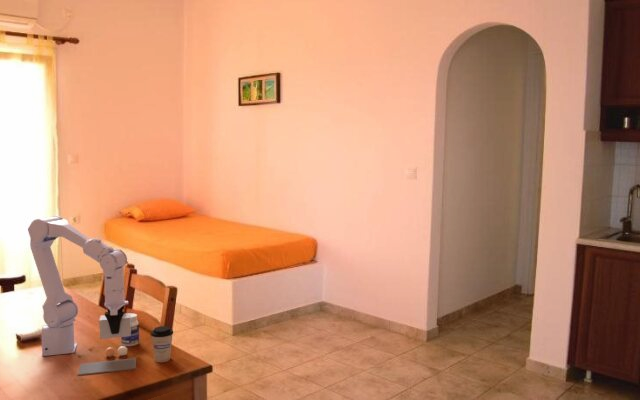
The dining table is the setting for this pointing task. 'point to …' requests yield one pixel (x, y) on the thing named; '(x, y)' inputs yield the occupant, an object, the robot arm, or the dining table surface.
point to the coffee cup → (162, 343)
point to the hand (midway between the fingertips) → (115, 330)
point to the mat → (107, 366)
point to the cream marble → (122, 350)
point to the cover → (123, 332)
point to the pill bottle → (132, 333)
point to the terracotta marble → (109, 352)
